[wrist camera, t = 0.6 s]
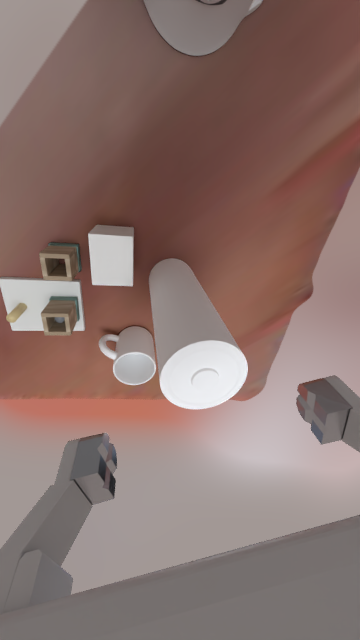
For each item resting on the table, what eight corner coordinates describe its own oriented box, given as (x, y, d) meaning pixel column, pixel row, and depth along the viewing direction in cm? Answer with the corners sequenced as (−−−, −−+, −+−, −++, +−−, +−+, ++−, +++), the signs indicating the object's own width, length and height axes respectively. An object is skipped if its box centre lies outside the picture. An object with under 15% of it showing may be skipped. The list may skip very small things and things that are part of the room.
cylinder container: (153, 304, 53) (168, 420, 27) (144, 262, 49) (152, 354, 23) (195, 296, 54) (249, 402, 28) (190, 254, 49) (250, 334, 23)
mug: (95, 341, 56) (87, 371, 47) (110, 312, 53) (105, 338, 44) (142, 359, 60) (143, 389, 51) (159, 333, 57) (163, 361, 48)
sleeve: (51, 242, 44) (37, 251, 38) (79, 243, 45) (70, 253, 39) (54, 268, 47) (42, 281, 41) (81, 269, 47) (73, 282, 41)
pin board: (1, 276, 46) (-17, 289, 41) (80, 279, 48) (73, 291, 43) (14, 327, 51) (0, 344, 46) (85, 327, 54) (79, 343, 48)
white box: (94, 224, 44) (85, 233, 36) (133, 227, 45) (133, 236, 37) (97, 268, 48) (90, 284, 40) (133, 269, 49) (132, 286, 41)
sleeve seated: (51, 295, 48) (39, 312, 42) (77, 296, 49) (69, 312, 43) (55, 317, 50) (43, 336, 44) (80, 317, 51) (72, 336, 45)
